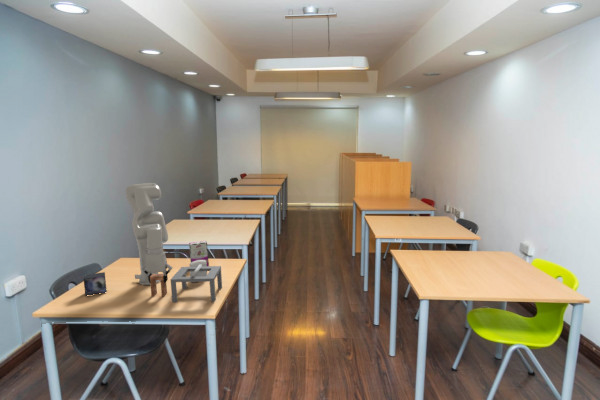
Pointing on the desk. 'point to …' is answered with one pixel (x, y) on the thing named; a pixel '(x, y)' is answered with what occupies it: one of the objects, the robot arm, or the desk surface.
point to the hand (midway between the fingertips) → (158, 281)
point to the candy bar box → (199, 251)
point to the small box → (95, 283)
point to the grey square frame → (197, 279)
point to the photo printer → (195, 264)
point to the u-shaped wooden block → (153, 284)
